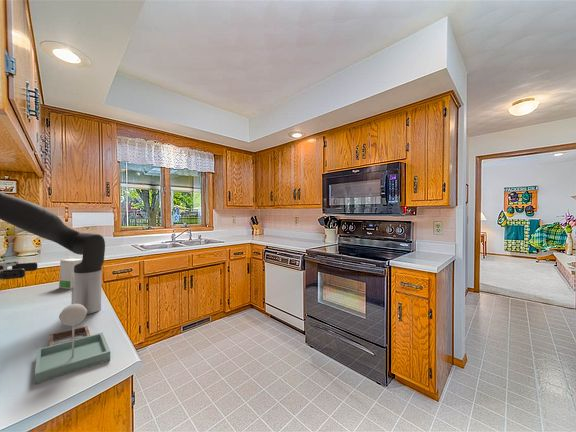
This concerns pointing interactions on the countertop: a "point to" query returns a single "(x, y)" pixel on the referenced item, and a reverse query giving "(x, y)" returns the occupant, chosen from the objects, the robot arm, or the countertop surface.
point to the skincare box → (67, 272)
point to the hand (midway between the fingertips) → (31, 269)
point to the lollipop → (73, 317)
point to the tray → (70, 357)
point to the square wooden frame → (69, 334)
